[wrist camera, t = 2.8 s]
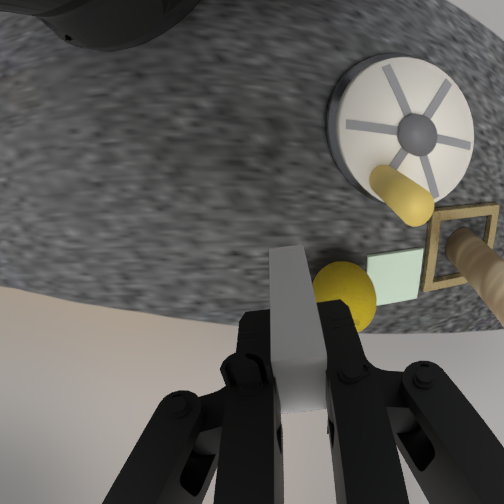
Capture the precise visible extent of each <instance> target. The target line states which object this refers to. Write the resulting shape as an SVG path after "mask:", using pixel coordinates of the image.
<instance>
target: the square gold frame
mask: <svg viewBox="0 0 504 504" xmlns="http://www.w3.org/2000/svg"><path fill="white" fill-rule="evenodd" d="M498 213H499V204H497V203H496V202H491V203H481V204H470V205H460V206H450V207H440V208H434V211H433V214H432V216H431V217H430V219H429V220H428V230H427V241H426V251H425V259H424V267H423V275H422V282H421V289H422V291H423V292H427V291H432V290H436V289H441V288H446V287H451V286H455V285H460V284H464V283H469V282H468V281H467V280H466V279H465V278H464V276H463V275H462V274H461V273H456V274H451V275H446V276H441V277H436V278H434V271H435V265H436V258H437V250H438V242H439V233H440V222H441V221H443V220H451V219H459V218H468V217H476V216H485V215H488V216H487V223H486V230H485V236H484V242H485V243H486V244H487V245H488V246H489V247H490V248H491V249H493V244H494V238H495V233H496V227H497V220H498Z"/></svg>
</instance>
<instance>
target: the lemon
mask: <svg viewBox="0 0 504 504" xmlns="http://www.w3.org/2000/svg"><path fill="white" fill-rule="evenodd" d="M312 286H313V290H314V295H315V299H316V302H323V301H330V300H337V299H341V300H342V301H343V302H344V303H345V304H346V305H348V306H349V308H350V311H351V314H352V318H353V320H354V323H355V327H356V329H357V332H360V331H362V330H363V329H364V328H366V327H367V326H368V325H369V323H370V322H371V320H372V319H373V317H374V314H375V311H376V302H377V298H376V292H375V288H374V285H373V282H372V280H371V279H370V277H369V276H368V274H367V273H366V272H365V271H364V270H363V269H362V268H360V267H359V266H358V265H356V264H354V263H351V262H346V261H338V262H333V263H330V264H328V265H327V266H325V267H324V268H323V269H321V270H320V271H319V272H318V274H317V275H316V277H315V279H314V281H313V284H312Z"/></svg>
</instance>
